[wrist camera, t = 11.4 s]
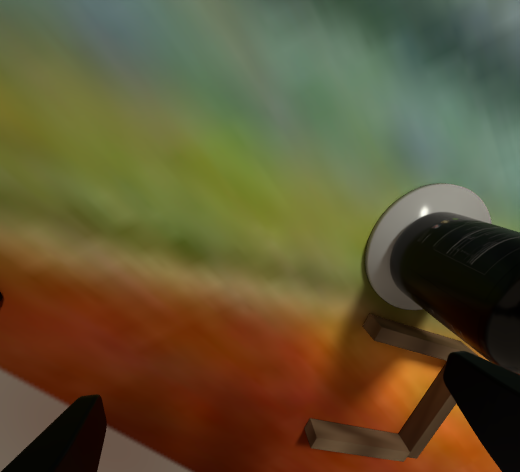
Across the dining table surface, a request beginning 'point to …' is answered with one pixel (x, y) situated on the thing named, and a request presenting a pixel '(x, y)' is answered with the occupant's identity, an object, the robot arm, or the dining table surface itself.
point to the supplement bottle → (464, 280)
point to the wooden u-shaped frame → (421, 420)
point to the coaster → (400, 218)
